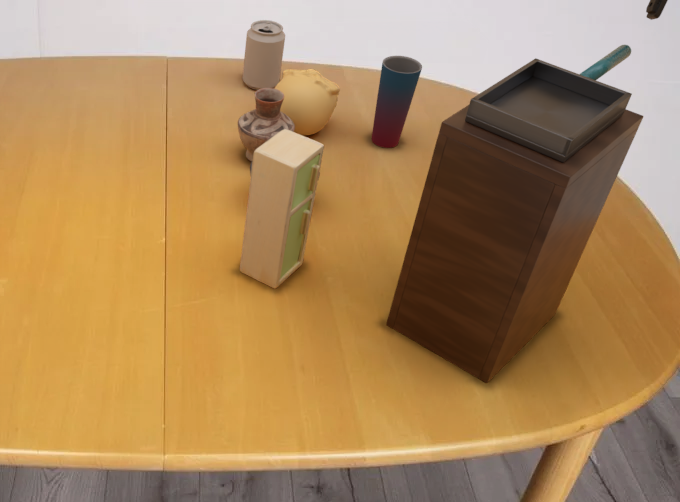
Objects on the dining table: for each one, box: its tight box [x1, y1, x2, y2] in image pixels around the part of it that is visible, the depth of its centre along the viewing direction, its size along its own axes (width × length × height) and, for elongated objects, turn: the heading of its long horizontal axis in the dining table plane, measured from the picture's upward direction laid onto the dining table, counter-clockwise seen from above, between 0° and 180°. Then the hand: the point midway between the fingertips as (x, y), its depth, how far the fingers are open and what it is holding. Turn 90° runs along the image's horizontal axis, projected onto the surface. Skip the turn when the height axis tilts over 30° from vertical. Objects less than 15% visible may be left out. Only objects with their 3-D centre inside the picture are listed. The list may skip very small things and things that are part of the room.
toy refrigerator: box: [239, 129, 325, 289], centre depth 125 cm, size 8×7×21 cm
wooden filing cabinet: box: [385, 104, 644, 384], centre depth 114 cm, size 20×16×32 cm
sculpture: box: [274, 68, 341, 136], centre depth 160 cm, size 12×12×11 cm
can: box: [241, 19, 286, 91], centre depth 172 cm, size 8×8×12 cm
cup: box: [370, 55, 423, 149], centre depth 156 cm, size 7×7×15 cm
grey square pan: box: [465, 44, 633, 162], centre depth 106 cm, size 30×12×3 cm, turn 136°
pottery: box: [237, 87, 321, 181], centre depth 146 cm, size 11×25×12 cm, turn 9°
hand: (677, 30), depth 122 cm, fingers open, 8 cm apart
